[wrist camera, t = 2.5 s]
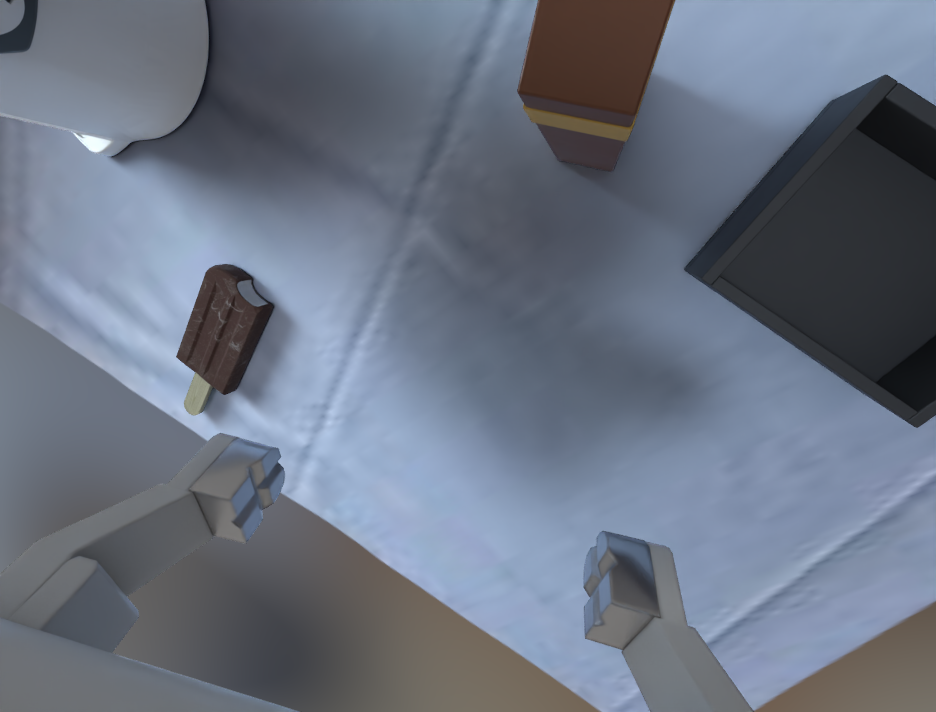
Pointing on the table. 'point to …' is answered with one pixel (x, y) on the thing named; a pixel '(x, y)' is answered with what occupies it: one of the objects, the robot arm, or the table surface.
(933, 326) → the tray
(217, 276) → the ice cream bar
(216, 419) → the table surface
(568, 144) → the chocolate box
